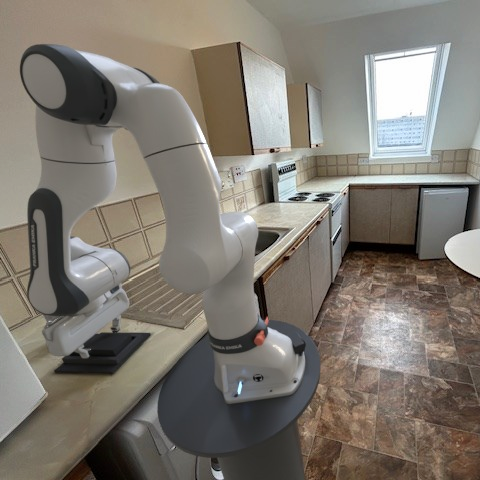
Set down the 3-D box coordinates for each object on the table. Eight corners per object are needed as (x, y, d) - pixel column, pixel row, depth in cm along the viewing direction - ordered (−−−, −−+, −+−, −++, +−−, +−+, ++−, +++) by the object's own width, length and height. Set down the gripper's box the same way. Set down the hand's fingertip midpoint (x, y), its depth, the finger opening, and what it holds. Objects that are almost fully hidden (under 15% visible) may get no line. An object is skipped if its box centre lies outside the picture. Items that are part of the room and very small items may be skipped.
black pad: (133, 342, 75) (130, 333, 74) (116, 359, 69) (112, 350, 68) (95, 342, 76) (91, 333, 75) (75, 358, 70) (70, 349, 69)
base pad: (150, 334, 79) (148, 328, 78) (112, 374, 66) (109, 367, 65) (101, 334, 80) (99, 328, 79) (55, 372, 67) (51, 365, 66)
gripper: (52, 326, 57) (78, 375, 62) (125, 279, 76) (140, 318, 81) (26, 327, 57) (53, 374, 62) (105, 279, 76) (121, 319, 81)
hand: (103, 342), depth 72 cm, fingers open, 8 cm apart
